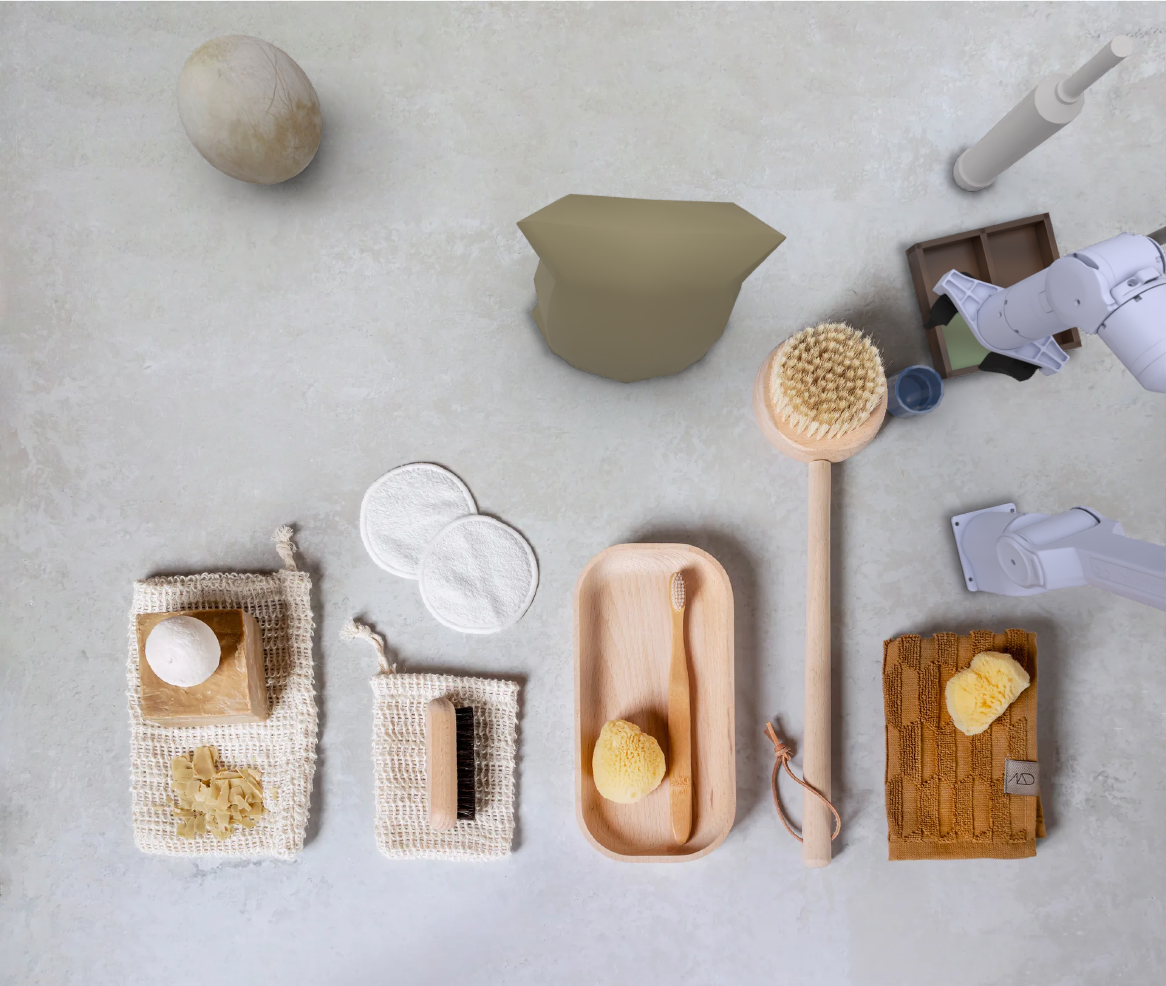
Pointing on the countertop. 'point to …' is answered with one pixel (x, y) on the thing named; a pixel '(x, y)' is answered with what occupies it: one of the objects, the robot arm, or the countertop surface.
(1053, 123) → the bottle
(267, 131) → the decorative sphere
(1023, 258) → the tray
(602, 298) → the container
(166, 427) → the countertop surface
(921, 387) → the cup
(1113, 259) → the robot arm
